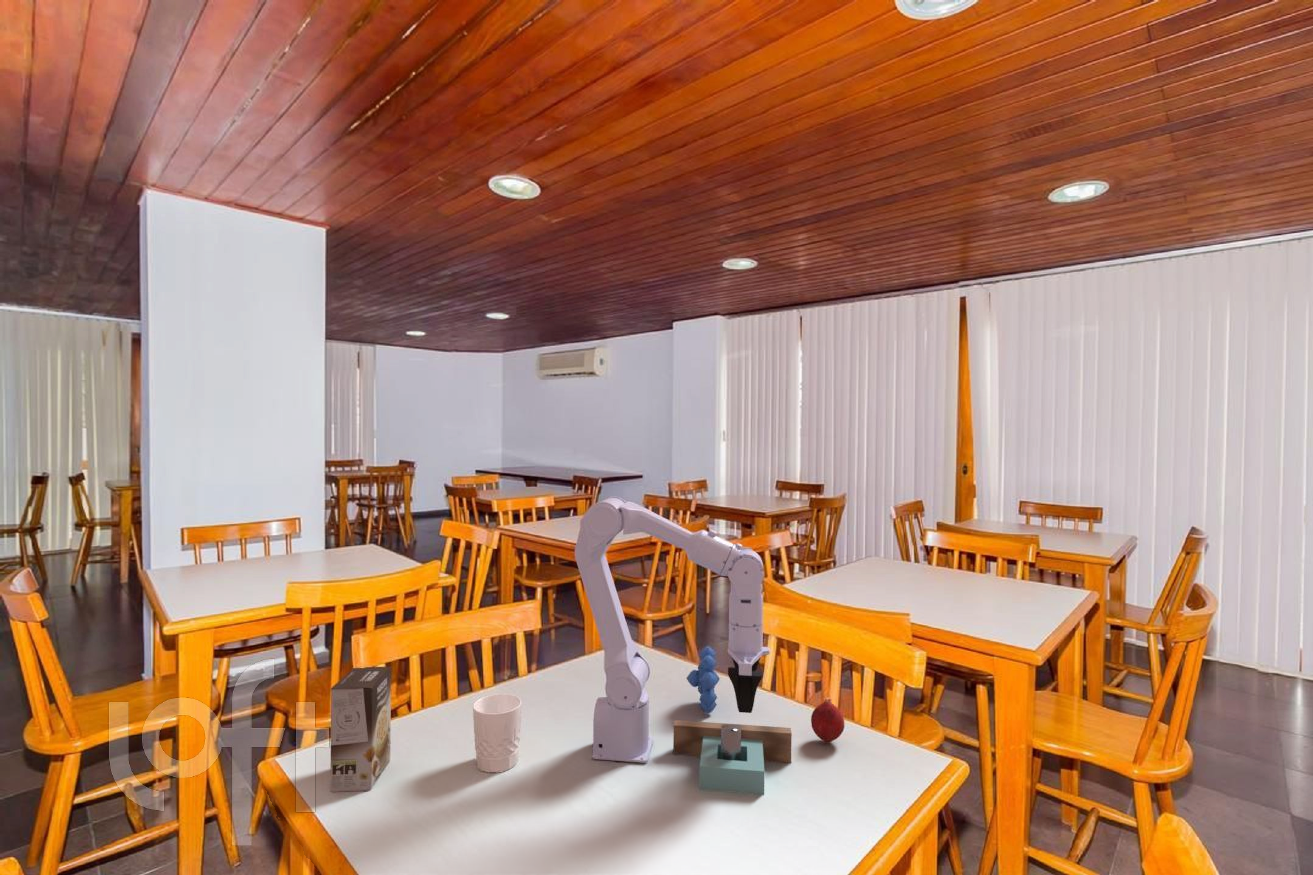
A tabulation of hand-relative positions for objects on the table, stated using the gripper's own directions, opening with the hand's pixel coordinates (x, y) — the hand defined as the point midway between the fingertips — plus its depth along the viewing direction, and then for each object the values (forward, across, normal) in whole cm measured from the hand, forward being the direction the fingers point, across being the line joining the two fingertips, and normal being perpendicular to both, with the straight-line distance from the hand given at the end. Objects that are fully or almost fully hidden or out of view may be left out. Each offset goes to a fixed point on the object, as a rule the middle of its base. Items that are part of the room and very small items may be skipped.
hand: (745, 701), depth 108 cm
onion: (+10, +8, -15) cm, 20 cm away
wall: (+10, +1, +2) cm, 10 cm away
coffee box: (+10, -15, +61) cm, 64 cm away
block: (+10, -5, +2) cm, 12 cm away
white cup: (+10, -8, +41) cm, 43 cm away
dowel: (+9, -5, +2) cm, 11 cm away
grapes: (+10, +19, +9) cm, 23 cm away
